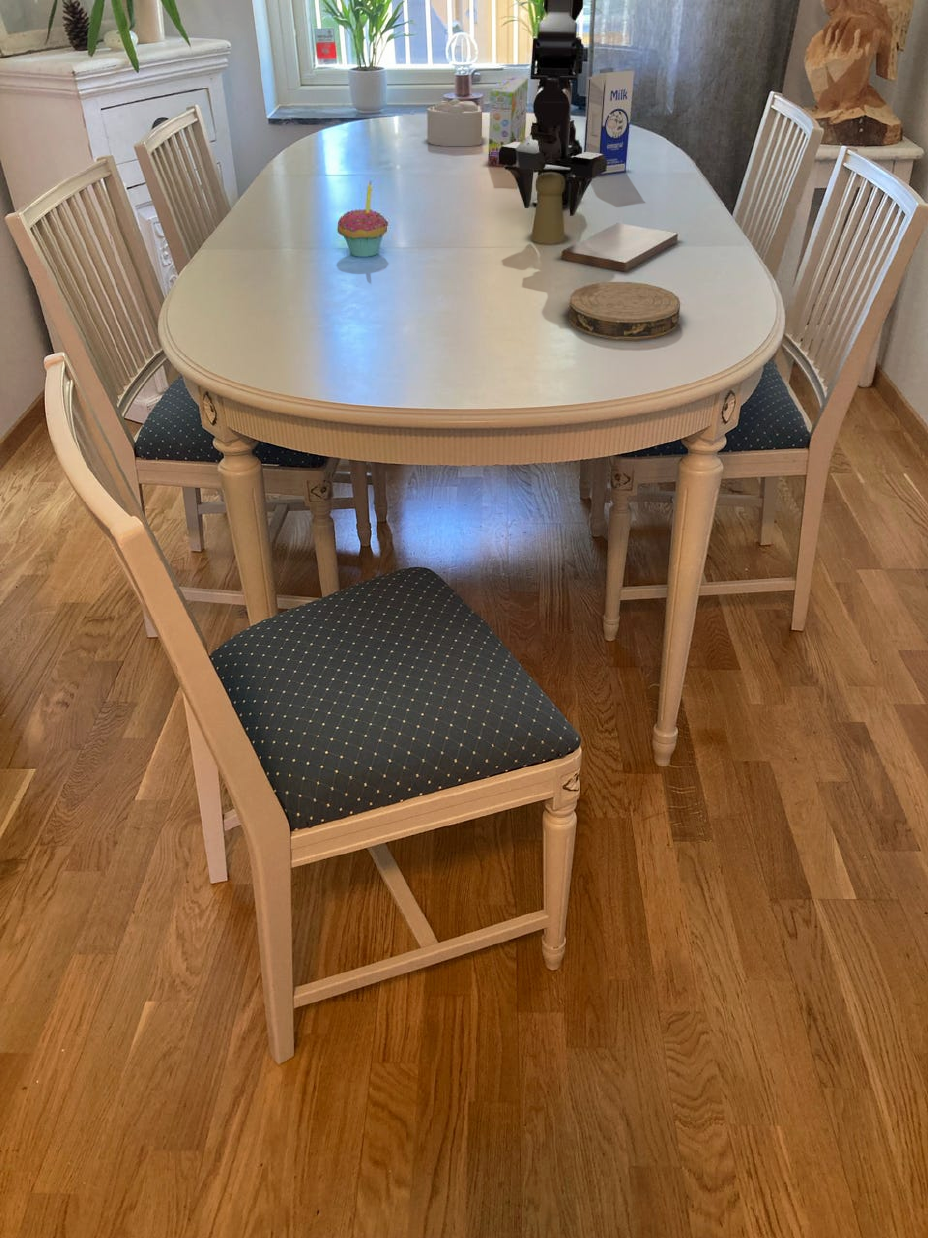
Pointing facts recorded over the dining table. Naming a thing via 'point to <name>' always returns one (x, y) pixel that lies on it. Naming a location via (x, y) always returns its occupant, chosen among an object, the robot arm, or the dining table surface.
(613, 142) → the milk carton
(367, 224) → the cupcake
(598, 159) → the robot arm
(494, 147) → the snack box
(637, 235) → the serving board
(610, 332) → the wood slice
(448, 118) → the lumpy-topped squat cylinder
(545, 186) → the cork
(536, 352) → the dining table surface
